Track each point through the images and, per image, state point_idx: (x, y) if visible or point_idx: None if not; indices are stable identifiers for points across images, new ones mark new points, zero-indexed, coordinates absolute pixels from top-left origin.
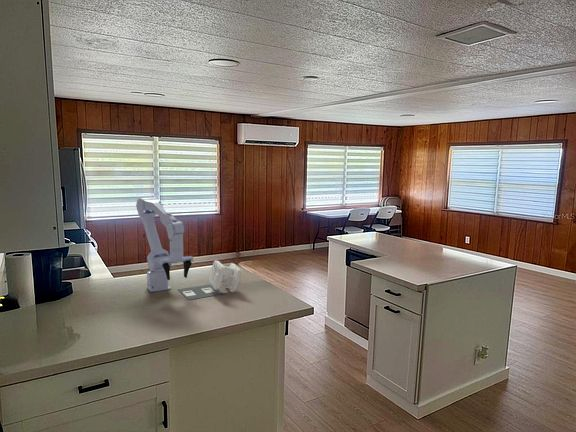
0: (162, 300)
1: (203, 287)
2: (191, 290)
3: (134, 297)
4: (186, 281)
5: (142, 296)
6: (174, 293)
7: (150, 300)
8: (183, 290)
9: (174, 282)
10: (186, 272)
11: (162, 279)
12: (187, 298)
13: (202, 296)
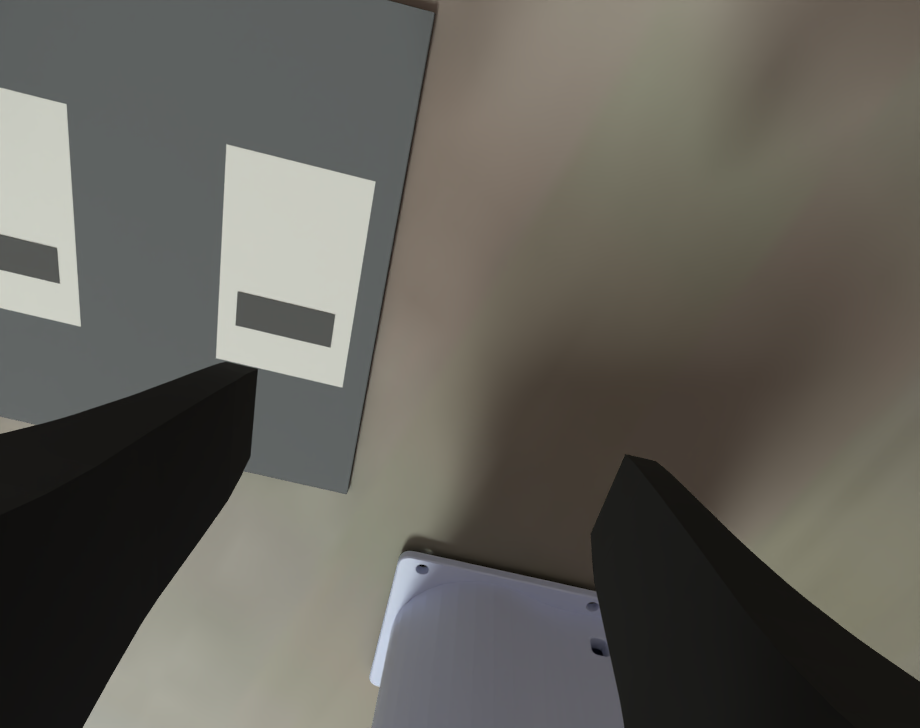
0: (712, 279)
1: (32, 354)
2: (217, 355)
3: (849, 571)
4: (153, 638)
5: (772, 547)
6: (442, 409)
7: (812, 381)
8: (306, 418)
9: (274, 679)
10: (161, 409)
11: (492, 695)
12: (413, 80)
13: None
